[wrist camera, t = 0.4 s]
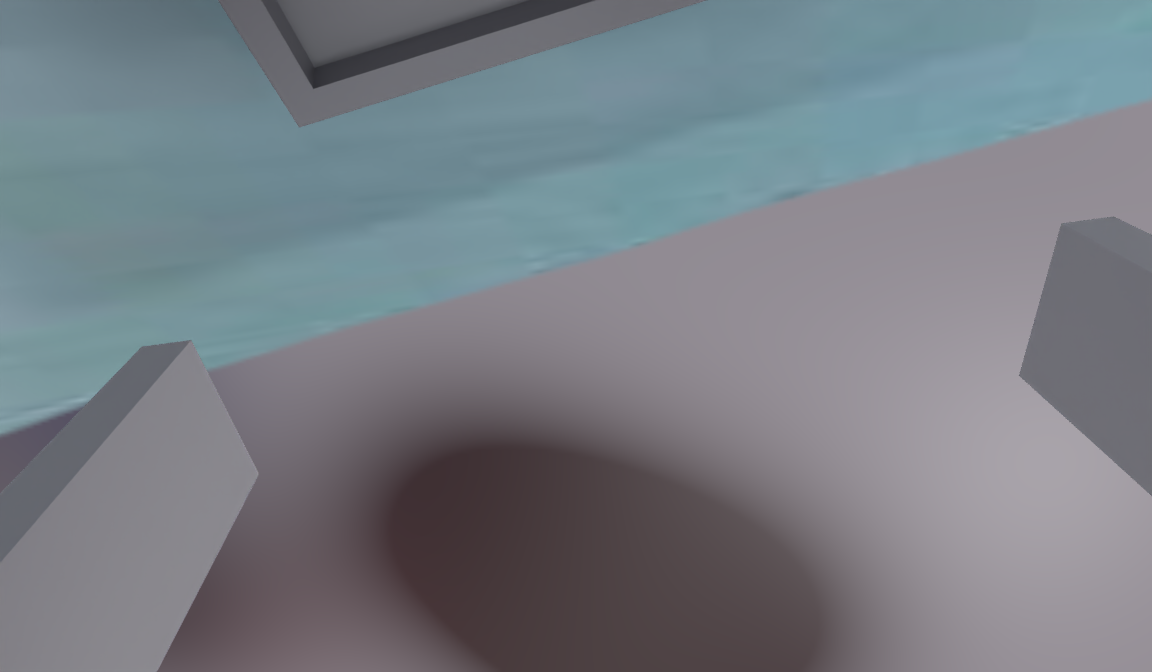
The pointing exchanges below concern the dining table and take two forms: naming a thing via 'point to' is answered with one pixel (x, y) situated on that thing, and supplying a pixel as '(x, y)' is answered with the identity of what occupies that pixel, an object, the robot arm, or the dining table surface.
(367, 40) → the tray
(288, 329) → the dining table surface
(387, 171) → the dining table surface
